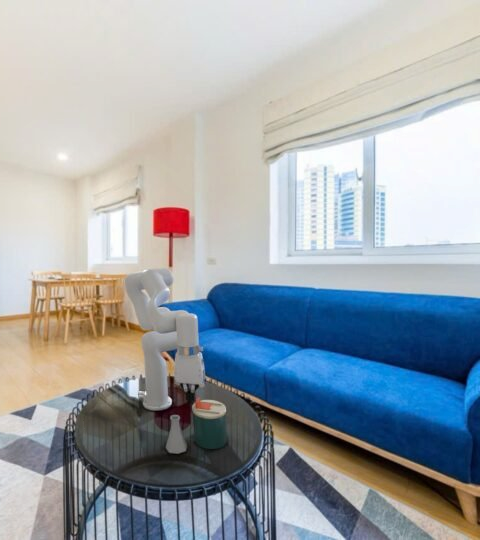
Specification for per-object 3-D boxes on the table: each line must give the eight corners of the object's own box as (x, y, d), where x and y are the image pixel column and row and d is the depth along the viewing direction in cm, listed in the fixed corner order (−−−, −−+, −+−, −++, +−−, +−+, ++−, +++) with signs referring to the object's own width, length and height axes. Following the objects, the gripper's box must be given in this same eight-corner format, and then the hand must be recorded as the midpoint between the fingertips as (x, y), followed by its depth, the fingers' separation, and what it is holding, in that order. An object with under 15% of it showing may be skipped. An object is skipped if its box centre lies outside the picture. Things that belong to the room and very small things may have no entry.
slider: (195, 408, 97) (195, 402, 97) (198, 403, 101) (197, 396, 101) (209, 410, 96) (209, 404, 96) (211, 404, 100) (211, 398, 100)
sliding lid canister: (190, 446, 95) (188, 412, 94) (197, 427, 105) (195, 396, 105) (225, 452, 91) (223, 416, 91) (229, 431, 102) (227, 400, 101)
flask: (164, 441, 98) (163, 412, 98) (185, 439, 98) (184, 410, 98) (166, 455, 91) (165, 424, 90) (189, 453, 91) (188, 422, 91)
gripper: (211, 347, 101) (214, 399, 101) (170, 345, 106) (173, 395, 106) (207, 354, 94) (210, 410, 94) (164, 351, 99) (166, 404, 99)
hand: (190, 402), depth 100 cm, fingers closed
